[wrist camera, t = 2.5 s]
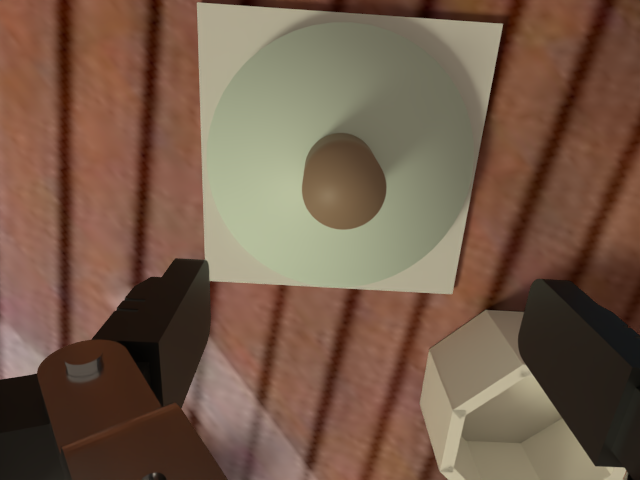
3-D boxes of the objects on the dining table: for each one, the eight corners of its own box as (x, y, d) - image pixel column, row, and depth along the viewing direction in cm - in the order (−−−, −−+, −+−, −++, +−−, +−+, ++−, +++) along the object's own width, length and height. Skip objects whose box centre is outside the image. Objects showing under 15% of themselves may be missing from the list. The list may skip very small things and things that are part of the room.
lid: (491, 33, 24) (537, 25, 19) (446, 286, 30) (472, 333, 25) (206, 14, 24) (175, 1, 19) (213, 274, 29) (191, 319, 24)
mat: (499, 24, 24) (502, 23, 24) (450, 290, 30) (452, 294, 30) (199, 3, 24) (197, 2, 24) (207, 277, 30) (205, 280, 29)
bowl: (603, 315, 31) (666, 371, 25) (561, 445, 35) (607, 518, 30) (436, 306, 31) (462, 361, 25) (413, 438, 35) (431, 510, 29)
